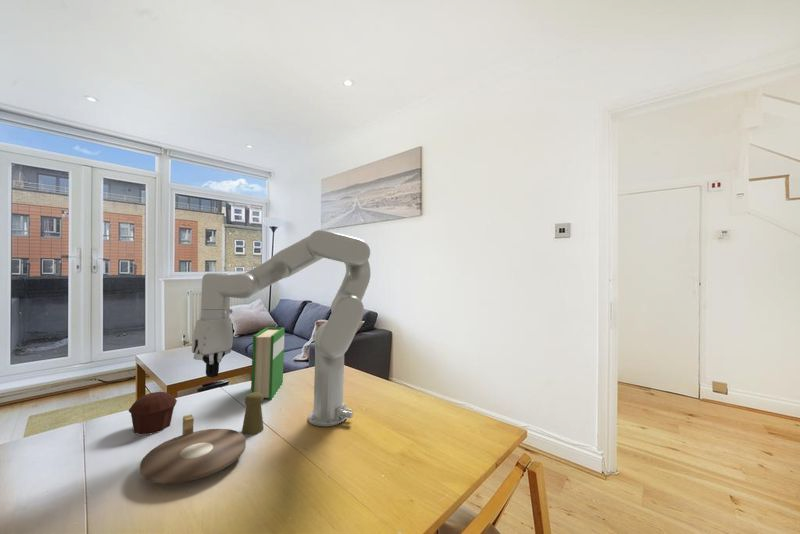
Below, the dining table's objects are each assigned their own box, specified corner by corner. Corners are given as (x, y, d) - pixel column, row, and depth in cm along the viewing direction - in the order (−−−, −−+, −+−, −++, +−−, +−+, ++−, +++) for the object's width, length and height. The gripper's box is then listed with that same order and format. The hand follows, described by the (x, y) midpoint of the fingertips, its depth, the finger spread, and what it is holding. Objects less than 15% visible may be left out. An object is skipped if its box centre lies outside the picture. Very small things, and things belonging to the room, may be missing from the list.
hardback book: (271, 400, 119) (273, 335, 119) (250, 400, 118) (253, 335, 118) (282, 383, 136) (284, 327, 137) (264, 384, 135) (266, 327, 136)
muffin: (161, 416, 104) (162, 385, 104) (184, 422, 100) (186, 390, 100) (118, 432, 93) (119, 398, 93) (142, 440, 89) (143, 404, 89)
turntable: (264, 440, 87) (264, 422, 87) (189, 493, 66) (190, 468, 66) (198, 426, 94) (199, 409, 94) (112, 469, 73) (113, 447, 73)
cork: (255, 436, 93) (256, 398, 93) (237, 433, 94) (238, 396, 94) (267, 426, 99) (269, 391, 99) (250, 424, 100) (251, 389, 100)
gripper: (230, 311, 103) (227, 368, 103) (181, 315, 90) (177, 381, 90) (245, 313, 100) (242, 372, 100) (197, 318, 87) (193, 386, 86)
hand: (212, 376), depth 95 cm, fingers closed
